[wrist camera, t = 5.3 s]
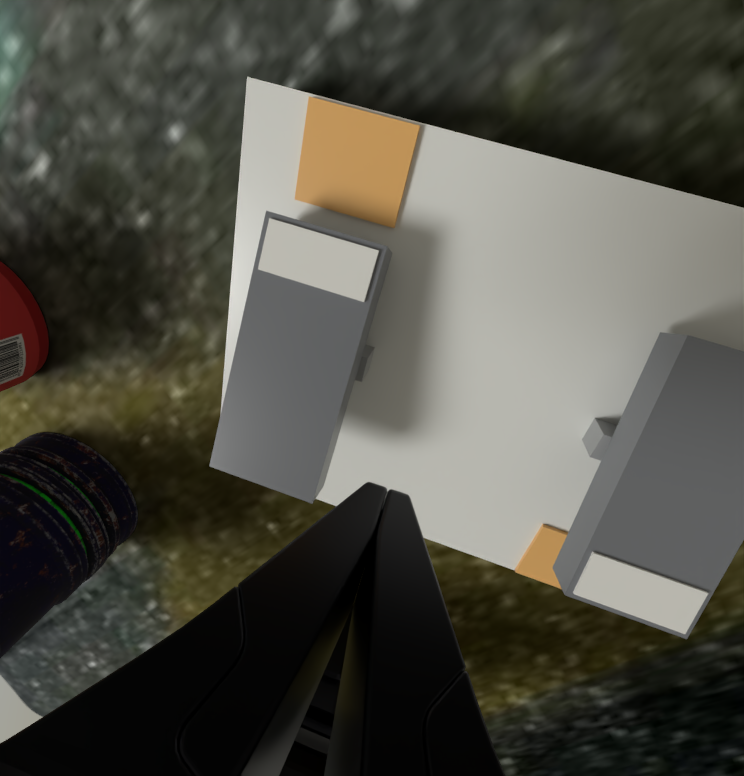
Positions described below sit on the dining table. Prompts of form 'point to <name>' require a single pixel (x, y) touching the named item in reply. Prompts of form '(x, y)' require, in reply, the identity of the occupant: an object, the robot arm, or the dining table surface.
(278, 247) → the rocker
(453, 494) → the switch base
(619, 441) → the block
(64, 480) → the storage jar
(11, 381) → the canned food
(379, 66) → the dining table surface
